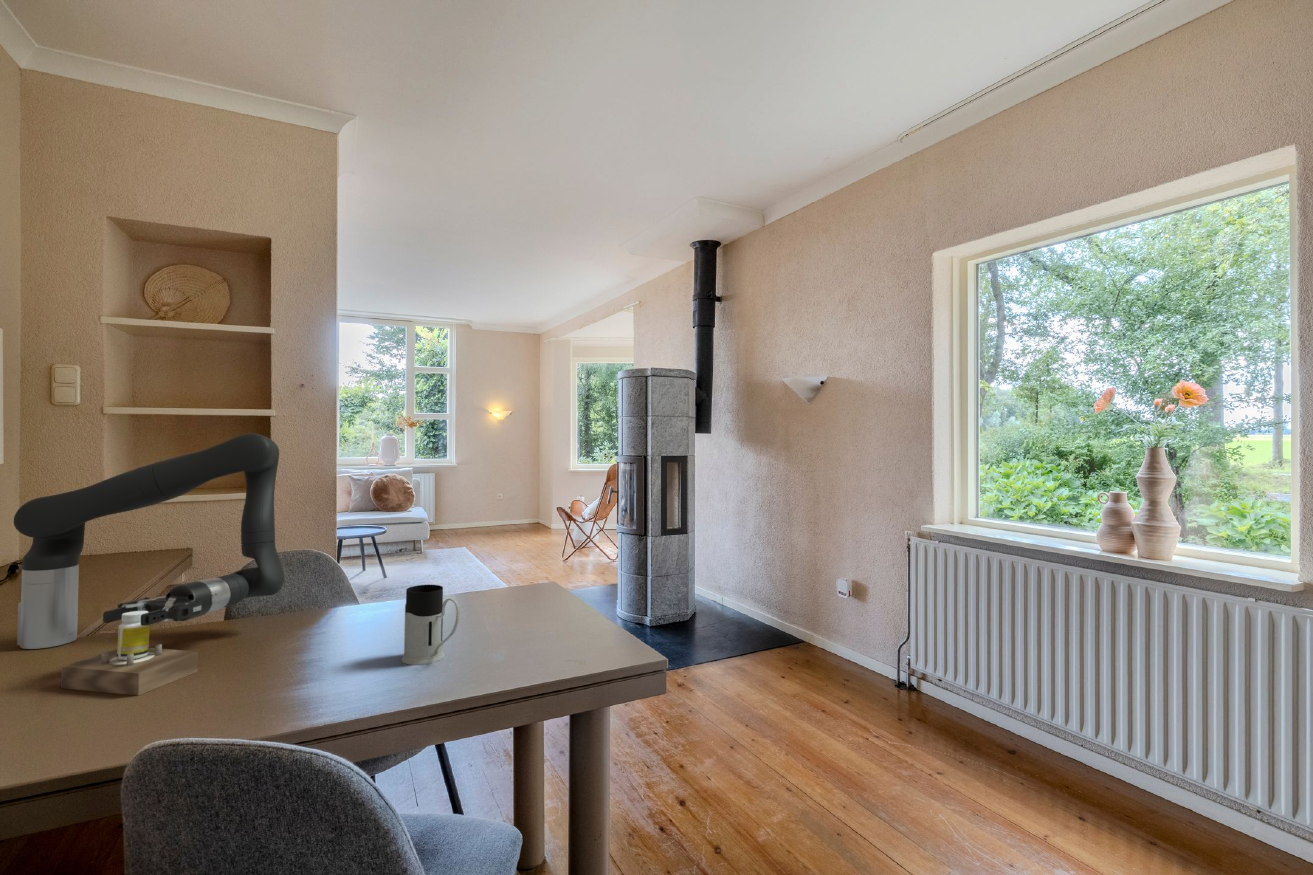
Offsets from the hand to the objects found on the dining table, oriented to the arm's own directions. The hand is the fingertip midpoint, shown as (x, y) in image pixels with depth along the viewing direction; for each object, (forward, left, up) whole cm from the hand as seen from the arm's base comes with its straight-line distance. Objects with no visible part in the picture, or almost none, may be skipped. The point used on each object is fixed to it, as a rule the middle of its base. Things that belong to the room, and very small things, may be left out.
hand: (123, 619), depth 118 cm
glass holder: (+50, +24, -12) cm, 57 cm away
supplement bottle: (0, +2, -8) cm, 8 cm away
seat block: (0, +2, -12) cm, 12 cm away
